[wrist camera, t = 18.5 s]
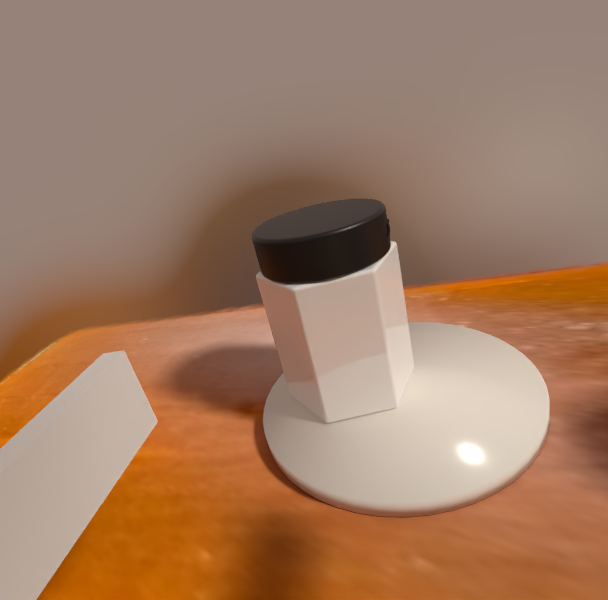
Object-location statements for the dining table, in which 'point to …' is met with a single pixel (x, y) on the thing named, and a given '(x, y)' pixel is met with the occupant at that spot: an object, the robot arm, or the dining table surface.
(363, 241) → the jar
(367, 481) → the saucer
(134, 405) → the robot arm
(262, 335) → the dining table surface
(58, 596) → the dining table surface
